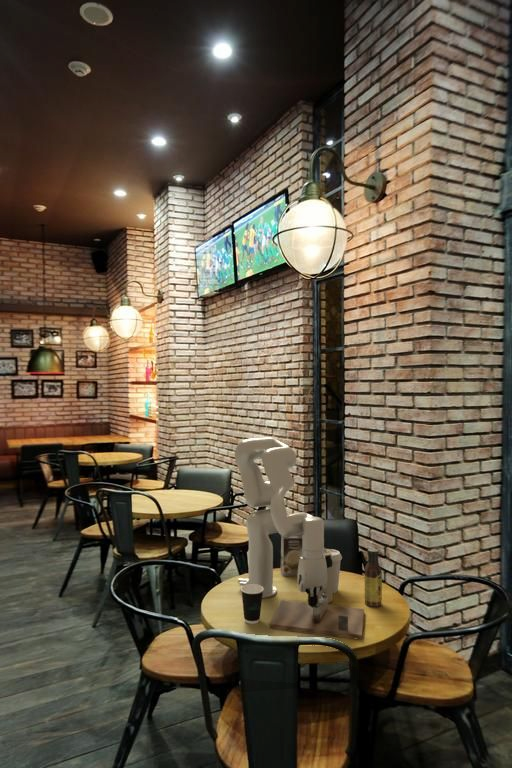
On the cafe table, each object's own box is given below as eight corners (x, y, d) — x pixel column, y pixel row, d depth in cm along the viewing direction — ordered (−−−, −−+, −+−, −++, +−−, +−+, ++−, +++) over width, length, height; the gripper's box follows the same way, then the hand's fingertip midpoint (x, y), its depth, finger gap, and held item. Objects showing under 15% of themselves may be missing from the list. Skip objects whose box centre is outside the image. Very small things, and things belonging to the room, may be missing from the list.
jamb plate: (269, 628, 168) (269, 610, 168) (281, 604, 188) (281, 587, 188) (361, 639, 161) (361, 620, 161) (363, 613, 180) (364, 596, 180)
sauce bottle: (382, 608, 184) (382, 553, 185) (364, 606, 186) (364, 552, 186) (381, 601, 191) (381, 548, 191) (364, 599, 192) (364, 547, 192)
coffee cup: (345, 588, 203) (345, 551, 203) (335, 596, 195) (336, 557, 195) (323, 583, 208) (323, 547, 208) (313, 591, 200) (313, 553, 200)
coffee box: (282, 576, 216) (283, 538, 216) (280, 571, 222) (280, 534, 222) (304, 575, 217) (304, 538, 217) (300, 570, 223) (301, 533, 223)
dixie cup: (249, 613, 179) (250, 582, 180) (268, 619, 175) (268, 587, 175) (235, 621, 173) (235, 589, 173) (254, 628, 168) (254, 594, 168)
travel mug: (316, 593, 197) (316, 547, 198) (335, 598, 193) (335, 550, 194) (307, 601, 191) (307, 552, 191) (327, 605, 186) (327, 556, 187)
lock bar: (321, 605, 182) (321, 591, 182) (328, 606, 181) (328, 592, 181) (312, 621, 169) (312, 606, 169) (319, 623, 168) (319, 607, 168)
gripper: (325, 547, 184) (324, 598, 184) (289, 553, 178) (288, 605, 177) (336, 553, 177) (336, 606, 177) (300, 559, 171) (299, 614, 170)
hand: (312, 606), depth 177 cm, fingers closed
